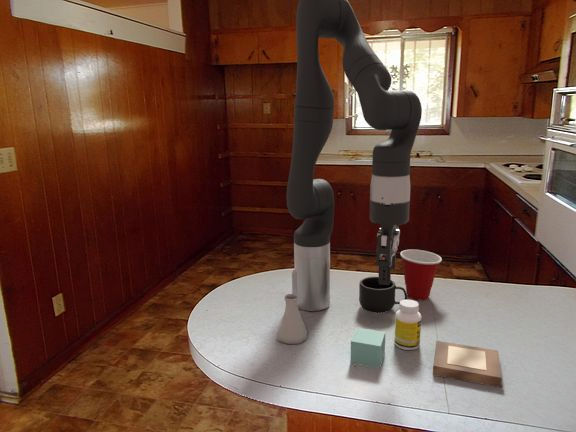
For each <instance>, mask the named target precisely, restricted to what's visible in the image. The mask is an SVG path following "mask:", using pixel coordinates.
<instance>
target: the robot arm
mask: <svg viewBox="0 0 576 432" xmlns="http://www.w3.org/2000/svg"><path fill="white" fill-rule="evenodd" d="M295 18H296V19H295V20H296V21H295V22H296V29H295V31H296V32H295V33H296V86H295V87H296V88H295V100H294V112H293V115H294V117H293V135H292V137H293V138H292V140H293V141H292V151H291V161H290V168H289V172H288V173H289V175H288V180H287V181H288V182H287V187H286V206H287V209H288V212H289V215H291V216H292V217H293V218H294V219H296V220H304V221H303V223H302V224H301V225H300V226H299V227H298V228H297V229H296V230H295V231H294V233H293V250H294V251H293V253H294V254H293V256H294V257H293V258H294V259H293V260H294V269H293V270H292V271H291V288H292V290H291V294H296V295H298V300H297V306H298V309H300V310H303V311H308V312H318V311H322V310H325V309H327V308H328V307H330V305H331V301H330V300H331V235H332V233H333V229H334V219H335V218H334V216H335V195H334V190H333V188H332V186H331V184H330V183H329V181H327V180H325V179H323V178H314V177H315V176H314V175H315V168H316V165H317V161H318V160H319V159H318V158H319V156H320V155H321V153H322V151H323V148H324V147H325V146H326V144H327V142H328V140H329V137H330V136H331V132H332V131H333V130H332V129H333V126H334V115H335V113H334V112H335V97H334V93H333V90H332V88H331V85H330V83H329V81H328V79H327V77H326V75H325V73H324V70H323V68H322V65H321V61H320V53H319V38H321V39H334V40H335V41H336V42H338V43H339V44H340V45H341V46H342V47H343V52H342V59H341V60H342V61H341V62H342V63H341V64H342V69H343V72H344V74H345V77H346V78H347V79H348V81H349V83H350V84H351V86H352V87H353V89H354V90H355V92H356V93H357V97H358V100H359V104H360V108H361V111H362V115H363V118H364V121H365V123H366V124H367V125H368V126H370V127H371V128H373V129H374V130H376V131H377V130H378V131H390V130H391V131H390V134H389V137H388V139H386V140H385V141H383V142H379V143H377V144H376V145H374V146H373V149H372V158H371V159H372V162H371V163H372V164H371V165H372V167H371V182H370V185H369V186H370V187H369V188H370V190H369V194H370V196H369V220H370V221H371V222H372V223H374V224H375V225H376V224H378V225H380V227H379V230H378V231H377V233H376V234H377V235H376V240H377V241H376V243H377V244H376V261H375V264H376V267H378V277H379V278H378V282H379V284H382V285H389V284H390V280H392V279H391V274H392V272H391V271H392V270H393V271H394V270H395V269H396V266H397V265H396V262H397V260H396V259H397V251H398V247H399V244H400V235H401V230H400V229H399V226H401V225H405V224H407V223H408V222H409V221H410V207H411V206H410V204H411V179H410V178H411V177H410V174H411V173H410V172H411V152H412V149H413V146H414V143H415V141H416V137H417V134H418V131H419V127H420V125H421V121H422V114H423V113H422V112H423V111H422V110H423V109H422V102H421V100H420V98H419V96H418V95H417V94H416V93H415V92H413V91H411V90H390V88H391V85H392V76H391V73H390V71H389V70H388V69H387V67H386V66H385V65H384V63H383V62H382V60H381V59H380V58H379V57H378V55H377V54H376V53H375V51H374V50H373V49H372V47H371V45H370V44H369V42H368V40H367V38H366V35H365V33H364V31H363V29H362V26H361V24H360V23H359V20H358V19H357V18H358V17H357V16H356V14H355V10H354V9H353V7H352V6H351V3H350V2H349V1H348V0H298V3H297V8H296V17H295ZM383 256H384V259H383Z"/></svg>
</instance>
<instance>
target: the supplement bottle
mask: <svg viewBox="0 0 576 432" xmlns="http://www.w3.org/2000/svg"><path fill="white" fill-rule="evenodd" d="M399 302H400V304H398V305H399V309H398V310H397V311H396V313H395V318H394V319H395V320H394V321H395V324H394V340H393V341H394V345H395V346H396V347H397V348H399V349H402V350H404V351H414V350H417V349H419V347H420V344H421V330H422V314H421V313H420V312H419V308H420V307H419V306H420V304H419V302H418V301H417V300H414V299H407V300H405V299H402V300H400V301H399Z"/></svg>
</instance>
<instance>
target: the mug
mask: <svg viewBox="0 0 576 432" xmlns="http://www.w3.org/2000/svg"><path fill="white" fill-rule="evenodd" d="M378 278H379V276H368V277H365V278H363V279H361V280H360V281H359V285H358V287H359V289H358V290H359V291H358V292H359V294H358V295H359V296H358V301H359V305H360V306H361V308H362V309H363V310H364V311H367V312H370V313H373V314H383V313H387V312H390V311H392V309H393V308H394V307H395V305H400V301H396V290H401V291H402V292H403V294H404V300H408V296H407V292H406V288H404V287H402V286H396V283H395V281H394V280H392V279H391V280H390V284H389V285H382V284H379V282H378Z"/></svg>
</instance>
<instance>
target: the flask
mask: <svg viewBox="0 0 576 432" xmlns="http://www.w3.org/2000/svg"><path fill="white" fill-rule="evenodd" d="M297 300H298V295H296V294H292V293H287V294H285V295H284V301H285V308H284V314H283V316H282V318H281V319H282V320H281V322H280V325H279V328H278V331H277V335H276V337H277V338H276V341H279V342H281V343H284V344H287V345H289V344H290V345H291V344H293V345H294V344H296V345H297V344H302V343H303V342H304V341H306V340H307V339H308V331H307V329H306V326H305V324H304V320H303V319H302V316H301V313H300V311H299V308H298V306H297Z"/></svg>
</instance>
